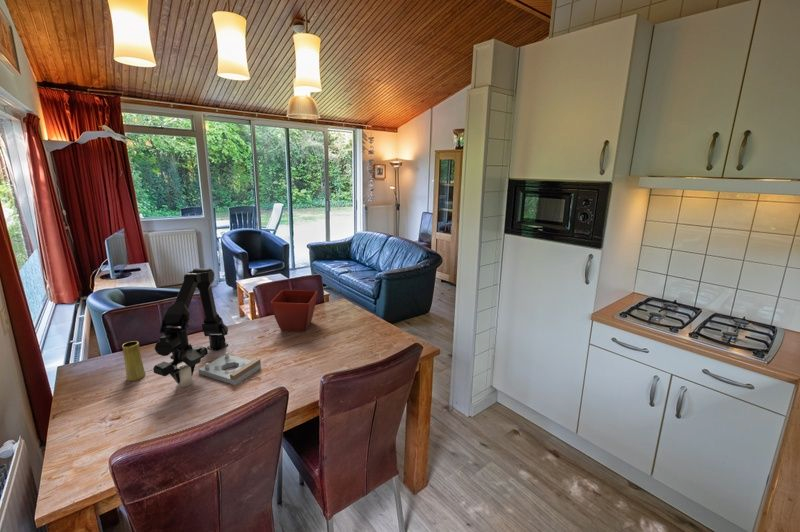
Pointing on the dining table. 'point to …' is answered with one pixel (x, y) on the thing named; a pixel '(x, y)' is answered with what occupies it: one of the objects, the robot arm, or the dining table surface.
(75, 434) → the dining table surface
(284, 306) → the plant pot
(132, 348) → the vase
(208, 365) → the jig
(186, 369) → the bushing
